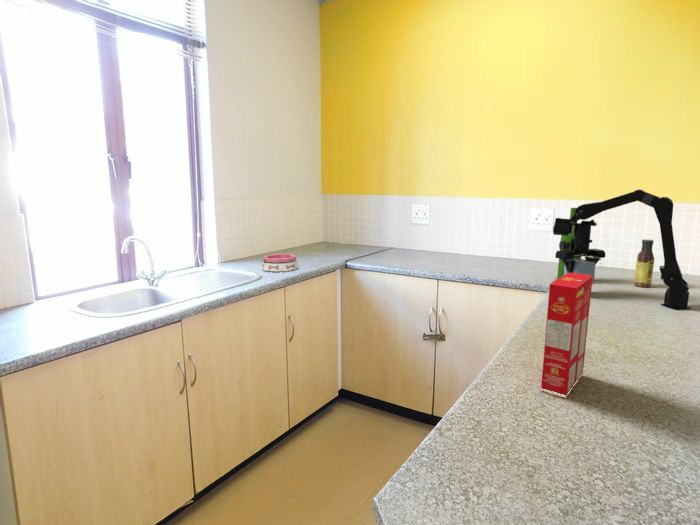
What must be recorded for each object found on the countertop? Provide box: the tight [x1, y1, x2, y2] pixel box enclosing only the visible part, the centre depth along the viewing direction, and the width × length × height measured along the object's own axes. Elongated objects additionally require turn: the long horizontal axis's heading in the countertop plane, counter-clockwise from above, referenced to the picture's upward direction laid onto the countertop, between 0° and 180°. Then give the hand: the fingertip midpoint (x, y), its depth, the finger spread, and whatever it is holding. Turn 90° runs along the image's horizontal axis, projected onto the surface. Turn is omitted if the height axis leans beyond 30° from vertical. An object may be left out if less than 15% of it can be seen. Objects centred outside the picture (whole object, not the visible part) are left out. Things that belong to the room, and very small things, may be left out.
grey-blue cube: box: [564, 258, 596, 285], centre depth 181 cm, size 8×8×9 cm
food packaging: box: [540, 272, 593, 395], centre depth 105 cm, size 15×5×25 cm, turn 141°
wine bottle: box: [556, 207, 582, 280], centre depth 202 cm, size 9×9×32 cm
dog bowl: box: [261, 253, 299, 274], centre depth 233 cm, size 18×19×7 cm
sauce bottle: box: [633, 238, 655, 288], centre depth 193 cm, size 7×6×20 cm
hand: (578, 275), depth 182 cm, fingers open, 8 cm apart
